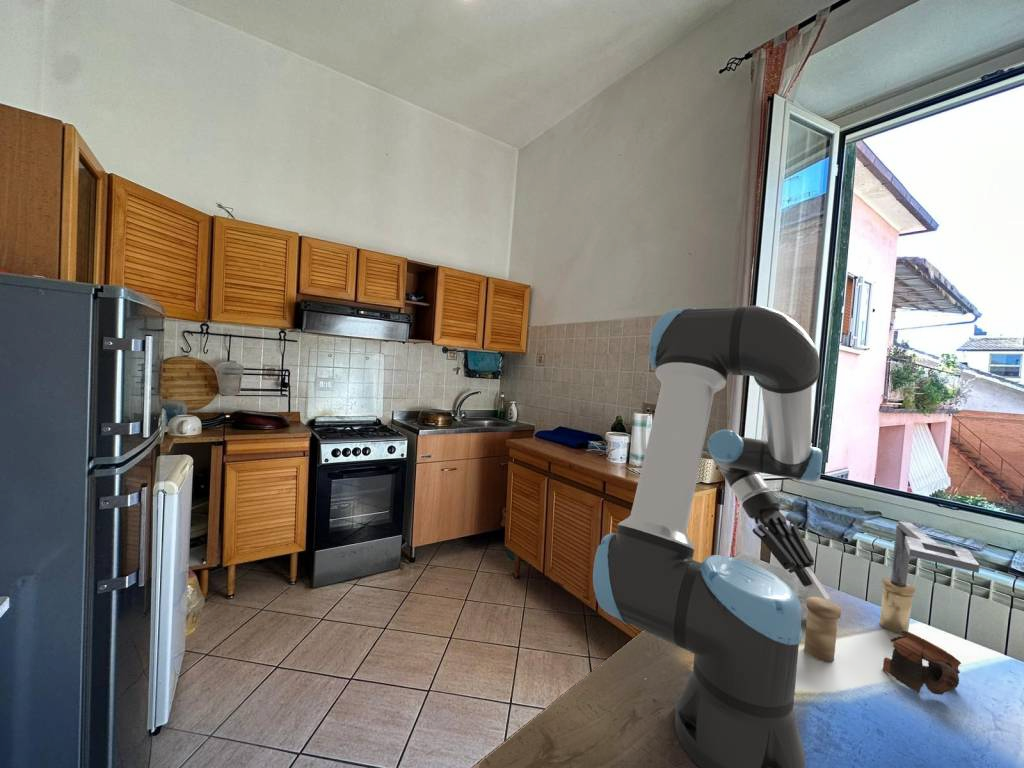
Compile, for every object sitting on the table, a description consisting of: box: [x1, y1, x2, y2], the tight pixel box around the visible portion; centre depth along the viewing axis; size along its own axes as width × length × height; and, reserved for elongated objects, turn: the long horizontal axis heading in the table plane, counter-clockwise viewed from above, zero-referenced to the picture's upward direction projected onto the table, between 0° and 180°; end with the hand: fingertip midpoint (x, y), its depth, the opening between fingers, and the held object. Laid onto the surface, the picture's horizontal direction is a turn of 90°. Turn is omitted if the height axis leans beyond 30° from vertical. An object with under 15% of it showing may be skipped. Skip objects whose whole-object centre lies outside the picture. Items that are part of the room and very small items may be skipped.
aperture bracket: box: [879, 520, 980, 636], centre depth 78 cm, size 10×22×22 cm, turn 141°
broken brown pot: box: [882, 631, 962, 696], centre depth 70 cm, size 12×9×8 cm
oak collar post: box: [803, 596, 842, 663], centre depth 76 cm, size 5×5×9 cm
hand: (822, 601), depth 88 cm, fingers closed
